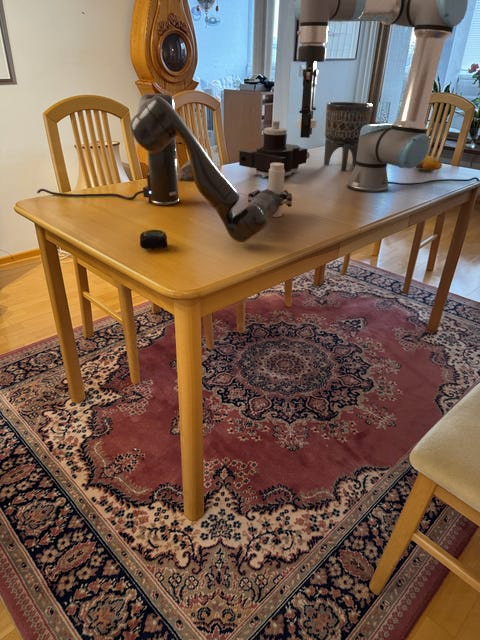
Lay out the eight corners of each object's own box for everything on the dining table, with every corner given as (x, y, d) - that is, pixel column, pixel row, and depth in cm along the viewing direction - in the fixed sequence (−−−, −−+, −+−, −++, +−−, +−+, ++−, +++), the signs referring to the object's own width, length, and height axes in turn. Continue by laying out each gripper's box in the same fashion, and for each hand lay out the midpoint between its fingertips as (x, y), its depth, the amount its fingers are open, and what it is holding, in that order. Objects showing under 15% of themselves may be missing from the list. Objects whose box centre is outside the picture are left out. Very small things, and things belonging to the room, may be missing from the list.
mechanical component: (240, 120, 182) (283, 115, 202) (239, 174, 192) (280, 164, 212) (283, 126, 170) (325, 120, 190) (280, 183, 180) (320, 171, 200)
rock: (201, 173, 191) (201, 157, 188) (214, 178, 186) (214, 161, 182) (175, 178, 184) (174, 161, 180) (187, 183, 178) (186, 166, 175)
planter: (313, 167, 208) (319, 103, 195) (331, 160, 222) (338, 101, 209) (353, 173, 199) (362, 107, 185) (369, 166, 213) (379, 104, 199)
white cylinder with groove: (316, 128, 132) (317, 121, 131) (297, 128, 132) (297, 120, 131) (315, 125, 136) (316, 118, 135) (297, 125, 137) (297, 118, 136)
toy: (415, 164, 201) (409, 156, 214) (418, 178, 204) (412, 170, 217) (442, 156, 198) (434, 149, 211) (444, 170, 201) (436, 162, 214)
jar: (266, 212, 147) (269, 162, 139) (281, 212, 147) (284, 162, 139) (266, 216, 143) (269, 165, 135) (282, 217, 143) (285, 165, 135)
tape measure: (140, 252, 115) (139, 238, 113) (141, 242, 120) (140, 229, 119) (167, 251, 116) (166, 237, 114) (167, 241, 121) (166, 228, 120)
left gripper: (288, 195, 126) (300, 182, 140) (239, 191, 130) (256, 178, 144) (286, 222, 130) (298, 206, 144) (239, 216, 134) (255, 201, 148)
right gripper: (302, 45, 132) (297, 130, 144) (294, 44, 117) (289, 140, 128) (328, 45, 131) (321, 131, 143) (323, 44, 115) (316, 141, 127)
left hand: (277, 192), depth 144 cm, fingers closed on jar, 5 cm apart
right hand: (306, 135), depth 135 cm, fingers closed on white cylinder with groove, 5 cm apart
